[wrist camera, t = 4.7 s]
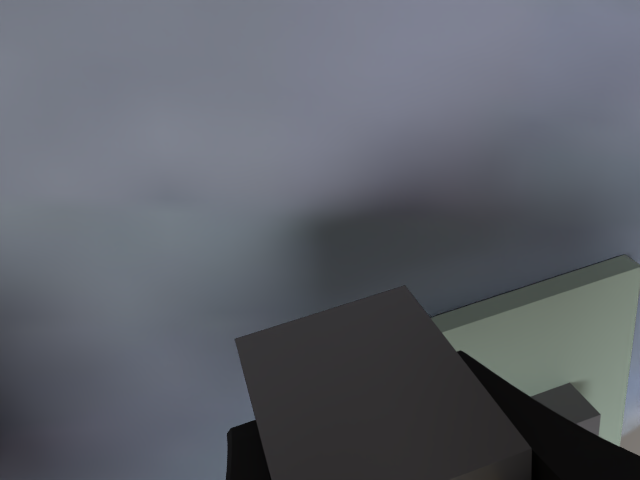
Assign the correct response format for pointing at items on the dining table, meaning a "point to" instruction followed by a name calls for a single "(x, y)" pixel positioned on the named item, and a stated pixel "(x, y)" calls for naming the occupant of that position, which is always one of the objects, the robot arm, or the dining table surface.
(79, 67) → the dining table surface
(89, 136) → the dining table surface
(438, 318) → the end holder
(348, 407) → the connector plug
